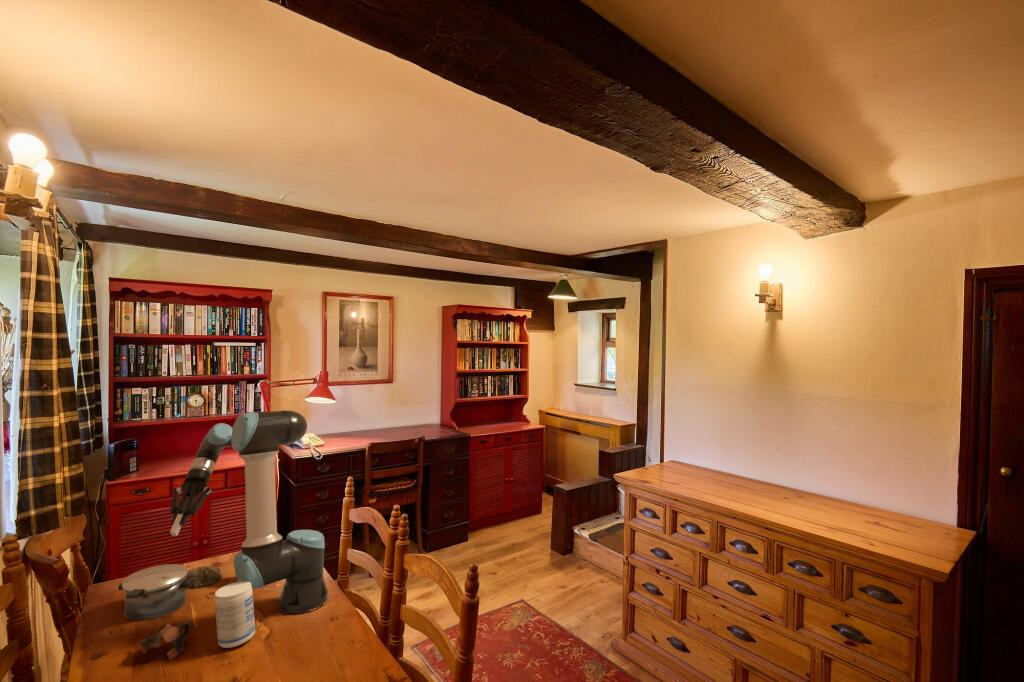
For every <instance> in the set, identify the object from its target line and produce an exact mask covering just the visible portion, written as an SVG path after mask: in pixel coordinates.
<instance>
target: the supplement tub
mask: <svg viewBox="0 0 1024 682" xmlns="http://www.w3.org/2000/svg"><path fill="white" fill-rule="evenodd" d="M214 607H215V609H214V610H215V621H216V622H215V623H216V634H217V635H216V637H217V644H218V646H219V647H221V648H223V649H224V648H225V649H227V648H234V647H239V646H240V645H243V644H245V643H246V642H248V641H249V640H251V639H252V638H253V637H254V635H255V633H256V625H255V624H256V622H255V610H254V609H255V608H254V596H253V589H252V587H251V583H250V582H248V581H236V582H232V583H228V584H226V585H223V586H222V587H220V588H219V589H217V590H216V591H215V593H214Z"/></svg>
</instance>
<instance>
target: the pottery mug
mask: <svg viewBox="0 0 1024 682" xmlns="http://www.w3.org/2000/svg"><path fill="white" fill-rule="evenodd" d="M183 627H184V631H183V633H182V632H181V631H182V628H183ZM191 631H192V623H191V622H190V621H189V620H185V621H181V622H180V623H178V624H177V625H175V626H173V625H171V623H170V622H169V623H166V624H164V625H162V626H161V627H159V628H158V629H156V630H154V635H152V636H151V634H149V635H147V636H146V637H145V638H144V639H143V640H142V641H140V644H139V645H141V649H140V652H141V653H143V654H145V655H146V654H147V652H148V649H149V648H151V649H152V650H153V649H157V648H159V647H160V641H161V639H163V640H164V642H166V643H171V644H172V646H173V647H172V648H171V649H170V650H169V651H168V652H167V653H166V655H167V658H168V659H169V661H172V660H174V658H176V657H177V656H178V655H179V654H180V653H181V652H183V651H184V650H185V639H186V638H187V637H188V636H189V634H190V633H191Z"/></svg>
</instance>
